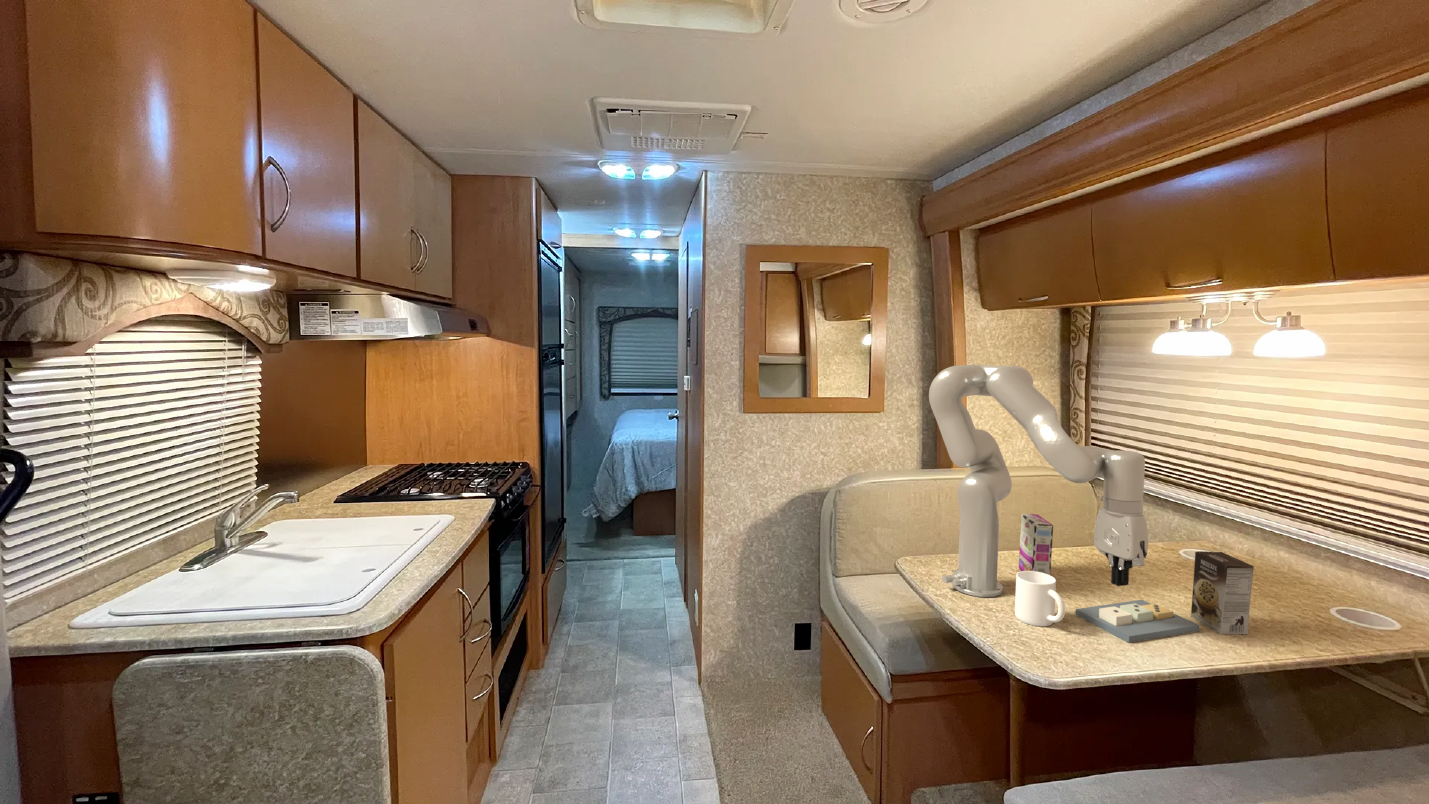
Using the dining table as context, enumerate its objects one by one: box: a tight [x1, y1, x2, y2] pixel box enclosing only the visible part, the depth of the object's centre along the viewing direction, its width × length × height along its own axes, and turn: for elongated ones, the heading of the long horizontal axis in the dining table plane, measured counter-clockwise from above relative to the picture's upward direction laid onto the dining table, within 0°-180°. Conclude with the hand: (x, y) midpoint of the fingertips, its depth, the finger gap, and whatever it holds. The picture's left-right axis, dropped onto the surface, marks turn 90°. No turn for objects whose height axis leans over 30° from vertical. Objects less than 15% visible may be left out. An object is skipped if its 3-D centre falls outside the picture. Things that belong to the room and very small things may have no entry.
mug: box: [1014, 570, 1066, 627], centre depth 140 cm, size 12×8×10 cm
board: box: [1075, 599, 1201, 644], centre depth 140 cm, size 20×14×2 cm
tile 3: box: [1142, 603, 1174, 620], centre depth 142 cm, size 4×4×2 cm
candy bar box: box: [1018, 513, 1054, 576], centre depth 168 cm, size 11×5×16 cm, turn 171°
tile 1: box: [1099, 606, 1132, 626], centre depth 139 cm, size 4×4×2 cm
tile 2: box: [1120, 603, 1153, 623], centre depth 140 cm, size 4×4×2 cm
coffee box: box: [1190, 550, 1255, 636], centre depth 138 cm, size 9×6×16 cm
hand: (1119, 584), depth 138 cm, fingers closed
